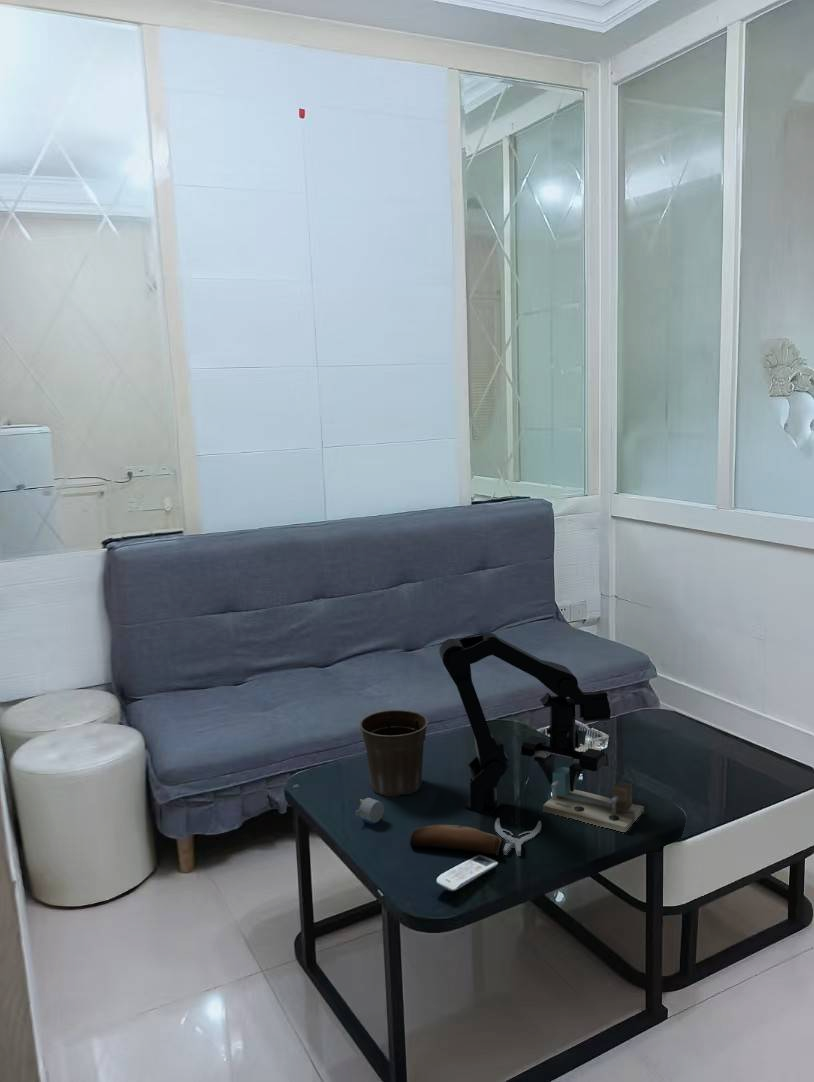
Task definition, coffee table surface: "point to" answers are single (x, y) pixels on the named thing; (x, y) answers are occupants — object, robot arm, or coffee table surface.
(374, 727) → the plant pot
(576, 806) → the beige board with blocks
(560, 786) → the teal block
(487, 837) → the sunglasses case
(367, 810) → the electric motor
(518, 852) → the pliers
